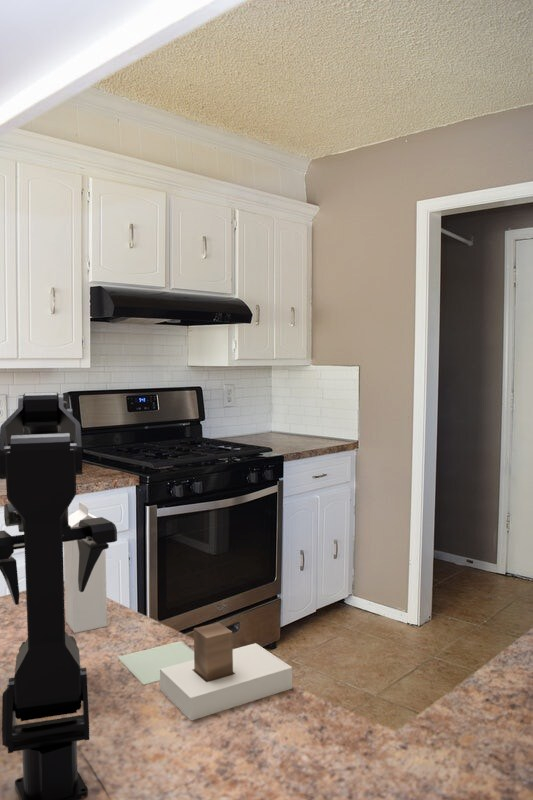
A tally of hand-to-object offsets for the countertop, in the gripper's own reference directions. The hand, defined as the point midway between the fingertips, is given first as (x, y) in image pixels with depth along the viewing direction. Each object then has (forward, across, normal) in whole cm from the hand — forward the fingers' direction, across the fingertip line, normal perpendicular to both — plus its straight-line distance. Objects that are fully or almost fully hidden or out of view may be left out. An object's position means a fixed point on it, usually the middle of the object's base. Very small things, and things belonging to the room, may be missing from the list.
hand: (49, 597), depth 97 cm
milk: (+14, -12, -22) cm, 28 cm away
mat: (+14, -17, +2) cm, 22 cm away
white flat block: (+14, -20, +15) cm, 29 cm away
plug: (+13, -18, +15) cm, 27 cm away
